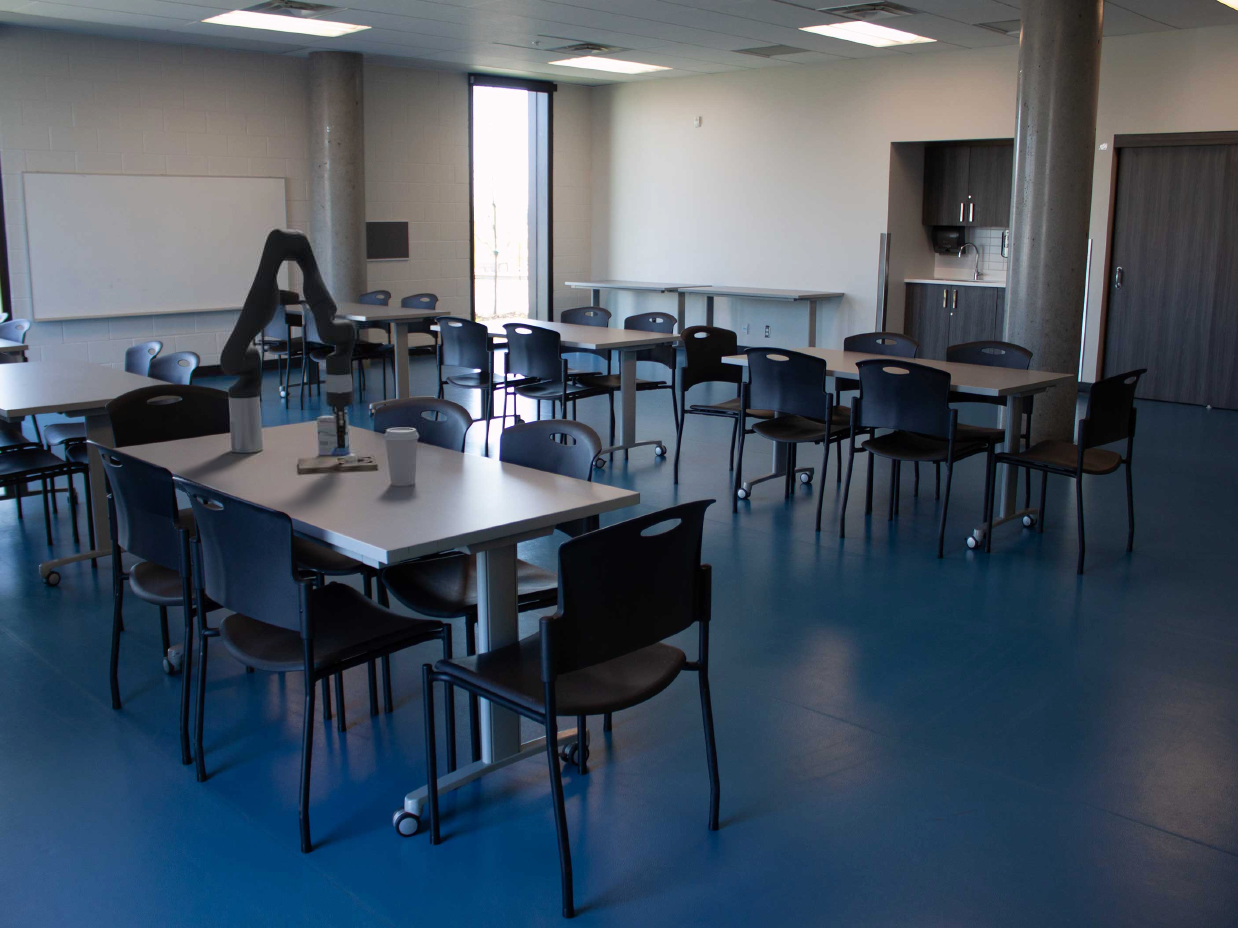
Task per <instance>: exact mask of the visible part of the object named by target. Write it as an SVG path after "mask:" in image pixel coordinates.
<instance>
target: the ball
mask: <svg viewBox="0 0 1238 928" xmlns="http://www.w3.org/2000/svg"><path fill="white" fill-rule="evenodd" d="M346 456H347V457H346V462H352V463H354V462H358V458H357V456H358V455H356V454H354V453H350V454H349V453H348V454H347V455H346Z"/></svg>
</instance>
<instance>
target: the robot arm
mask: <svg viewBox="0 0 1238 928" xmlns="http://www.w3.org/2000/svg"><path fill="white" fill-rule="evenodd" d="M283 262H295V263H296V264H297V265H298V267H299V269H300V271H301V272H302V277H303V280H302V293H303V298H304V299H305V301H306V304H307V305H308V308H309V309H310V311H311V313H312V314H313V318H314V322H315V327H316V332H317V336H318V338H319V340H320V342H322V343H323V344H324V345H326V346H336V348H335V350H334V351H333V352H331V353H329V354H327V355H326V358H325V373H326V375H325V395H326V396H325V397H326V398H325V399H326V401H325V402H326V404H325V405H327V407H329V408H335V411H332V416H333V417H334V426H335V428H336V435H337V447H338V448H345V435H346V428H347V416H348V412H347V410H345V408H346V407H351V406H353V405H354V397H353V396H354V393H353V388H354V387H353V378H352V362H351V360H352V356H353V351H354V348H355V342H356V336H357V333H356V328H355V326H354V324H353V323H352V322H351V321H350V320H349V319H348V320H347V319H337V320H332V318H333V317H334V316H335V315H336V314H337V312H338V307H337V304H336V302H335V301H334V299H333V297H332V295H331V294H330V292H329V290H328V287H327V286H326V284H325V282H324V280H323V278H322V274H321V272H320V269H319V266H318V263H317V260H316V257H315V254H314V251H313V248H312V245H311V243H310V241H309V238H308V237H307V235H306V234H305V233H304V232H303V231H302V230H300V229H293V228H275V229H273V230H271V231H270V232H269V234H268V236H267V238H266V241H265V243H264V246H263V250H262V253H261V258H260V261H259V265H258V267H257V270H256V272H255V276H254V279H253V282H252V283H251V287H250V289H249V291H248V294H247V296H246V298H245V301H244V304H243V306H242V309H241V312H240V315H239V316H238V319H237V321H236V323H235V326H234V329H233V330H232V332H231V334H230V335H229V338H228V340H227V341H226V343H225V345H224V347H223V348H222V351H221V354H220V357H219V358H220V359H219V363H220V369H221V371H222V372H223V374H225V375H227V376H233V377H234V376H238V380H237V381H236V382H235V383H234V384H233V385H231V386H230V387H229V388H228V389H227V394H228V409H229V433H230V447H231V453H232V452H234V453H238V454H247V453H256V452H261V451H263V450H264V446H263V429H262V413H261V411H262V410H261V399H260V398H261V397H260V395H261V394H260V391H261V387H262V358H261V355H260V351H259V349H258V348H257V347H256V346H255V345H253V344H251V343H252V342H253V341H254V339H255V338H256V337H258V335H260V333H262V332H263V331H264V330H265V329H266V327H267V326H268V325H269V324H270V323H272V321H273V319H274V317H275V315H276V314H277V311H278V308H279V306H280V303H281V293H280V288H279V284H278V280H277V279H278V273H279V270H280V269H281V266H282V264H283Z"/></svg>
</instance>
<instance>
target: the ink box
mask: <svg viewBox="0 0 1238 928" xmlns="http://www.w3.org/2000/svg"><path fill="white" fill-rule="evenodd" d="M316 423H317V424H316V427H317V428H316V429H317V444H318V445H317V446H318V447H317V448H318V455H319V456H347V455H349V453H350V433H349V432H350V431H349V415H347V428H346V435H345V448H338V447H337V435H336V428H335V426H334V417H333V415H322V416H318V417H317V418H316Z"/></svg>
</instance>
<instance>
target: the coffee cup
mask: <svg viewBox="0 0 1238 928" xmlns="http://www.w3.org/2000/svg"><path fill="white" fill-rule="evenodd" d="M419 438H420V435H419V432H417V429H416V428H415V427H407V426H406V427H402V426H401V427H390V428H386V430H385V433H384V435H383V440H385V447H386V448H385V449H386V454H387V462H388V472H389V478H390V484H391V486H393V485H394V486H395V487H409V485H410V486H413V485H416V473H417V454H418V453H417V452H418V440H419ZM394 486H393V487H394Z"/></svg>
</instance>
